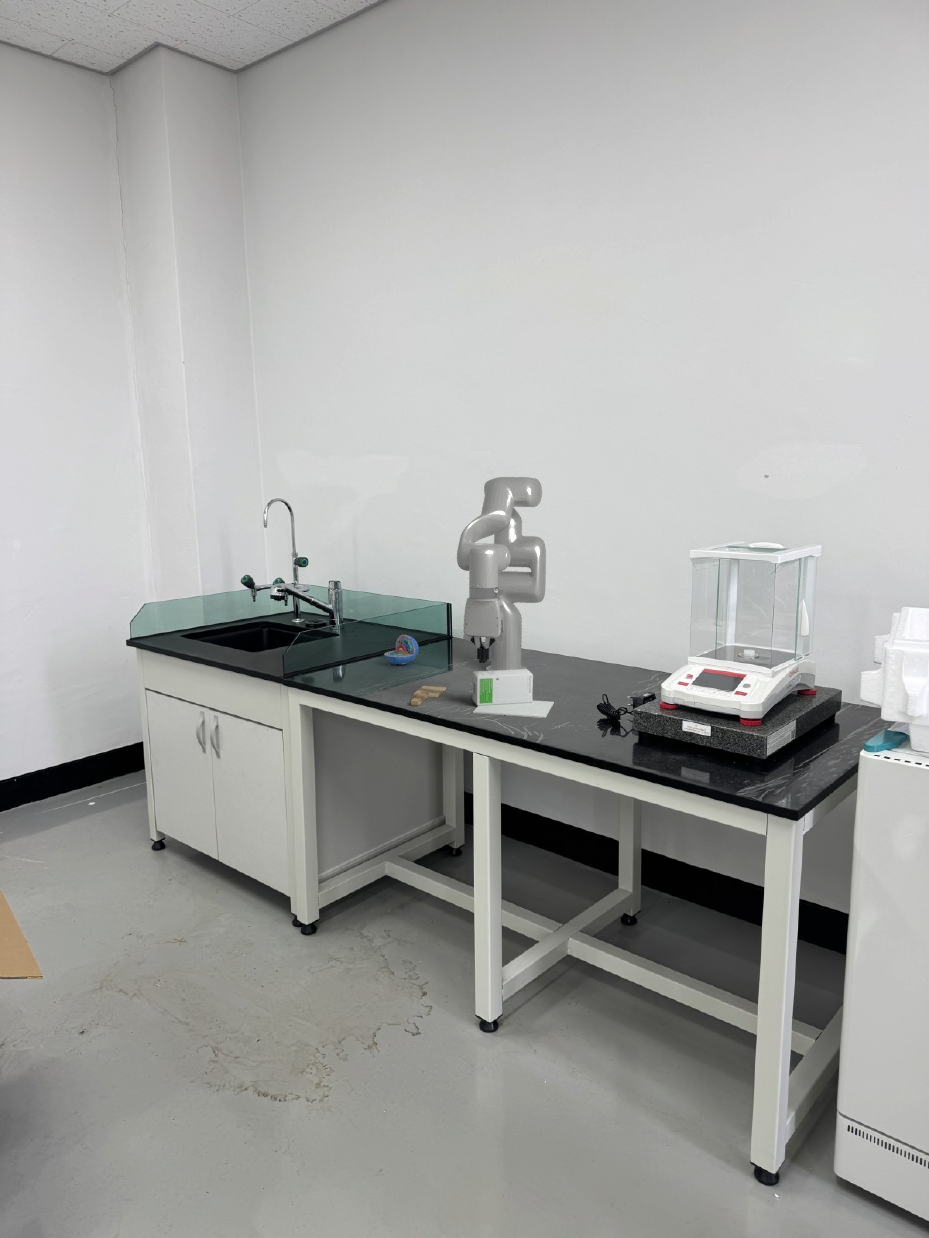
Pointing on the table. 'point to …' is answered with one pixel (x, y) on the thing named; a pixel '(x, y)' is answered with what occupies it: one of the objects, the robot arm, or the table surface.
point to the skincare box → (502, 687)
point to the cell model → (403, 650)
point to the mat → (517, 709)
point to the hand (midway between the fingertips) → (483, 661)
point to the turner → (426, 693)
